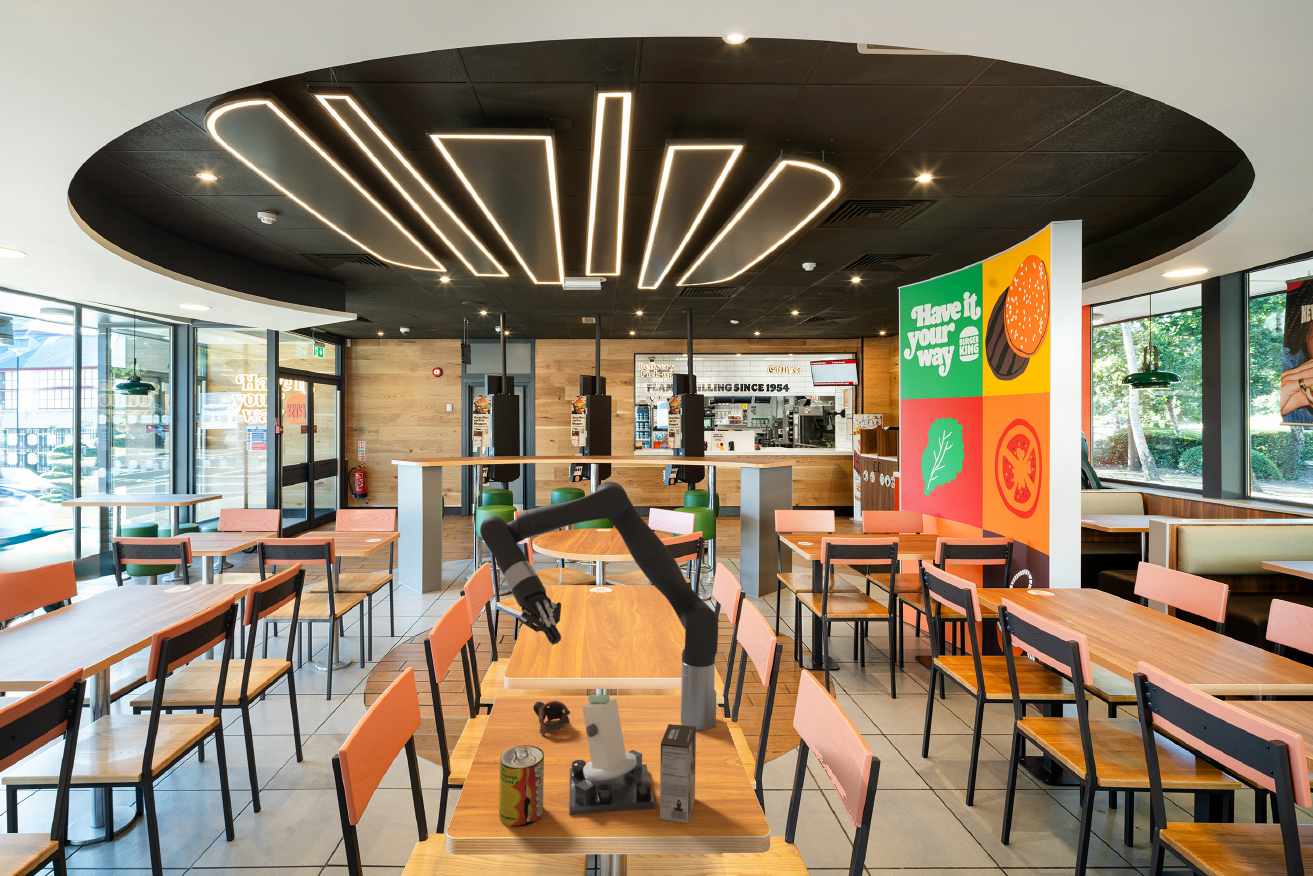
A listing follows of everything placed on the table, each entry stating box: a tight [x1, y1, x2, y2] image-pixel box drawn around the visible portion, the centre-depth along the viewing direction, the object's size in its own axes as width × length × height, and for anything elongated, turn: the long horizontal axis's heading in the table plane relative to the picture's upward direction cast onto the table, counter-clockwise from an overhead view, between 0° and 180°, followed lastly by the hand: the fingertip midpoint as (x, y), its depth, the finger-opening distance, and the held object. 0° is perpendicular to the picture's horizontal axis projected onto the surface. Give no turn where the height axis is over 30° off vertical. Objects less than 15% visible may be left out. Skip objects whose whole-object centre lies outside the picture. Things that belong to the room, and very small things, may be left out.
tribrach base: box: [568, 749, 655, 815], centre depth 135 cm, size 18×16×5 cm
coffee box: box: [659, 723, 697, 824], centre depth 129 cm, size 9×6×16 cm
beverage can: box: [498, 744, 545, 828], centre depth 127 cm, size 9×9×12 cm
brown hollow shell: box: [533, 700, 571, 736], centre depth 164 cm, size 12×10×8 cm
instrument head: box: [582, 693, 637, 783], centre depth 137 cm, size 12×12×17 cm
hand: (557, 642), depth 146 cm, fingers closed
